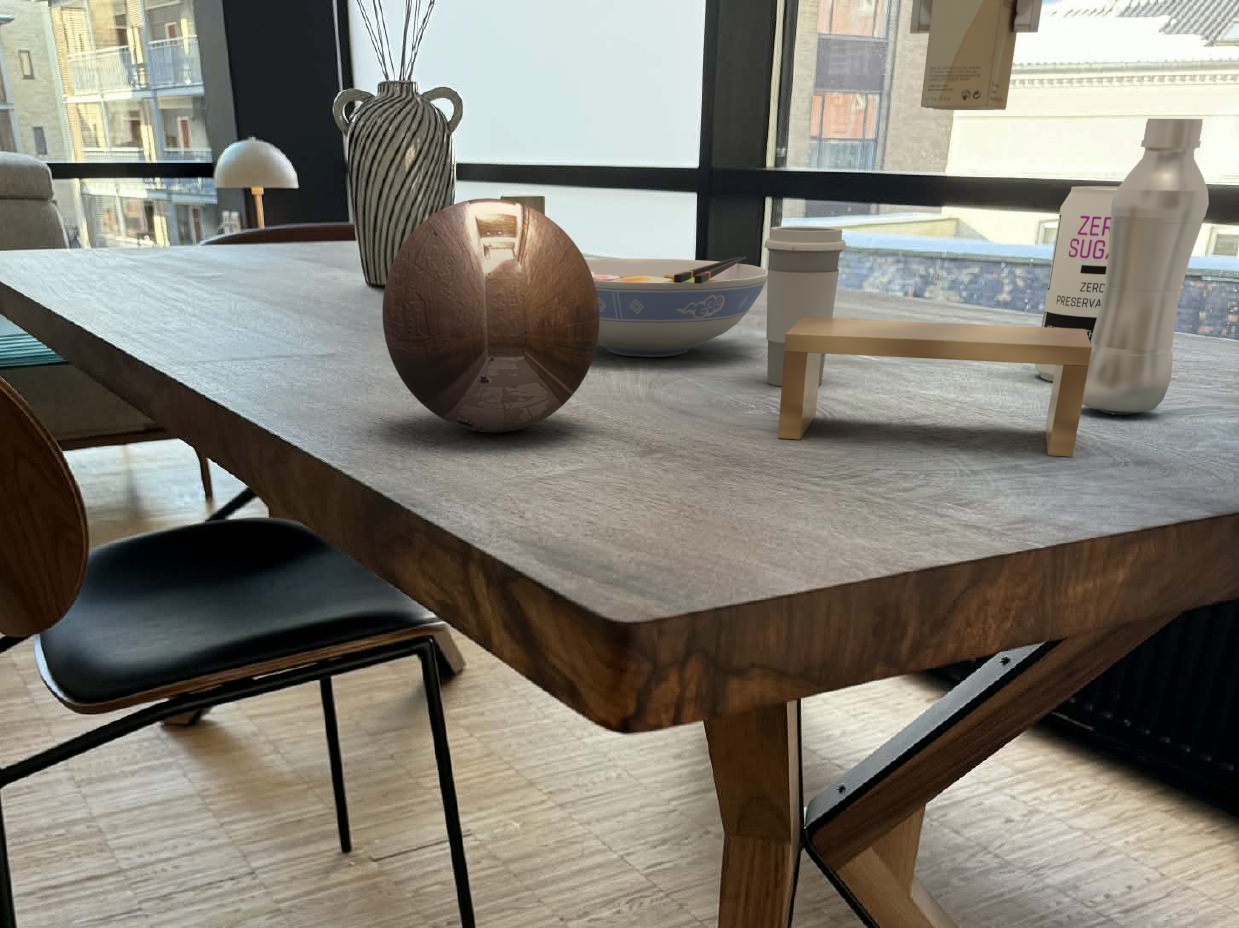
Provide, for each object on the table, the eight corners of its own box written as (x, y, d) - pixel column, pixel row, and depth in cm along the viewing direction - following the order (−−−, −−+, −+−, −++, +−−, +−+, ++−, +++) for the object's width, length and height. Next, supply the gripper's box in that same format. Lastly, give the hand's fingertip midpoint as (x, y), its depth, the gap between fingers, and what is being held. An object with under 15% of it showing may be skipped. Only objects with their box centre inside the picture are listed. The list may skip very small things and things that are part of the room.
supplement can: (1107, 370, 123) (1142, 186, 115) (1146, 386, 115) (1185, 190, 108) (1020, 371, 122) (1049, 185, 115) (1053, 386, 115) (1086, 190, 108)
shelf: (1067, 431, 99) (1085, 328, 95) (1072, 456, 91) (1092, 346, 88) (794, 415, 103) (802, 317, 100) (777, 438, 96) (785, 333, 92)
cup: (820, 392, 112) (834, 232, 106) (743, 385, 114) (753, 229, 108) (843, 379, 117) (857, 227, 112) (770, 373, 120) (780, 224, 114)
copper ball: (431, 461, 88) (419, 206, 81) (363, 419, 100) (346, 194, 93) (634, 441, 94) (640, 202, 87) (546, 404, 106) (545, 191, 99)
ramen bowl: (576, 329, 144) (576, 245, 140) (788, 340, 138) (794, 252, 134) (489, 364, 123) (487, 266, 119) (734, 379, 117) (740, 277, 113)
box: (986, 109, 82) (1016, -115, 76) (917, 109, 84) (941, -111, 78) (1008, 110, 86) (1037, -103, 80) (941, 110, 88) (966, -99, 82)
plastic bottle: (1073, 402, 108) (1124, 118, 99) (1162, 408, 106) (1223, 119, 97) (1070, 417, 103) (1123, 118, 93) (1164, 423, 101) (1229, 119, 91)
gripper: (1198, -254, 76) (1147, 33, 83) (834, -234, 81) (814, 37, 88) (1212, -282, 71) (1157, 27, 78) (822, -259, 76) (802, 31, 82)
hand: (972, 32), depth 83 cm, fingers closed on box, 5 cm apart
